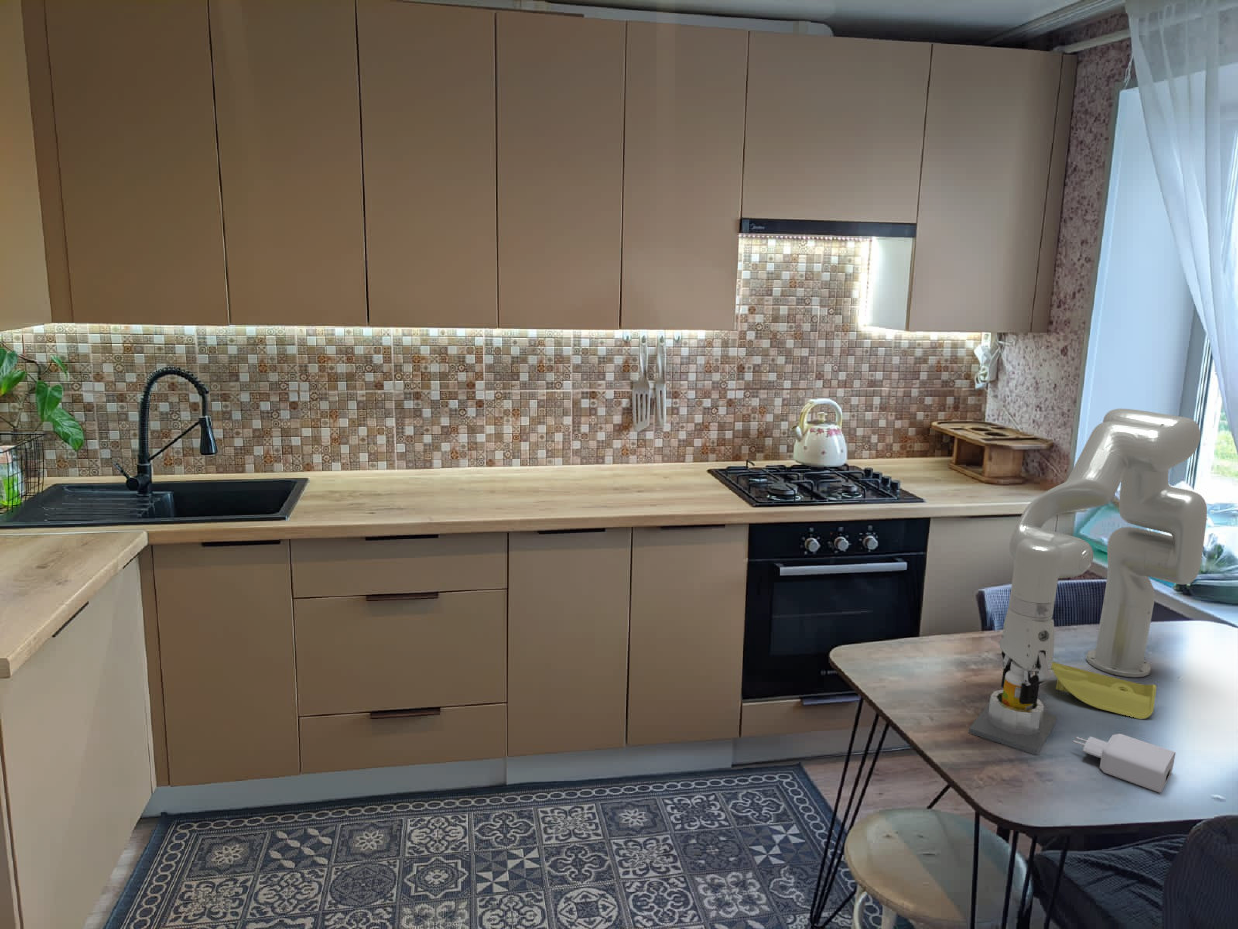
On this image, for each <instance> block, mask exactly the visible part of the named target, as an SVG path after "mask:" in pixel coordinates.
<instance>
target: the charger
mask: <svg viewBox="0 0 1238 929" xmlns="http://www.w3.org/2000/svg"><path fill="white" fill-rule="evenodd" d="M1072 742H1073V743H1074V744H1077V745H1079V746H1082V747H1083V749H1082V752H1083V753H1084V754H1085V753H1086V754H1088V755H1090V756H1094V757H1096V758H1099V759H1100V763H1099V769H1101V771H1102V772H1103V773H1104V774H1106V775H1109V776H1113V777H1115V778H1118V779H1121V780H1123V781H1126V782H1129V783H1132V784H1134V785H1137V786H1140V787H1143V788H1146V789H1149V790H1150V791H1154V792H1157V793H1160V794H1161V793H1162V792H1163V790H1164V787H1165V786H1166V784H1167V782H1168V781H1169V779H1170V777H1171V775H1172V774H1173V773H1172V772H1173V769H1174V768H1173V767H1174V763H1175V760H1176V759H1175V758H1176V751H1174V750H1170V749H1167V748H1164V747H1162V746H1160V745H1159V746H1157V745H1156V744H1152V743H1150V742H1146V741H1143V740H1140V739H1137V738H1133V737H1131V736H1129V735H1125V734H1122V733H1116V734H1112V736H1111V737H1110V738H1109V740H1108V741H1106V740H1103V739H1102V740H1101V739H1098V738H1096V737H1094V736H1089V737H1088V738H1087V739H1085V738H1083V737H1079V736H1076V737H1075V740H1074V739H1073V740H1072ZM1083 742H1084V743H1083Z"/></svg>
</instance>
